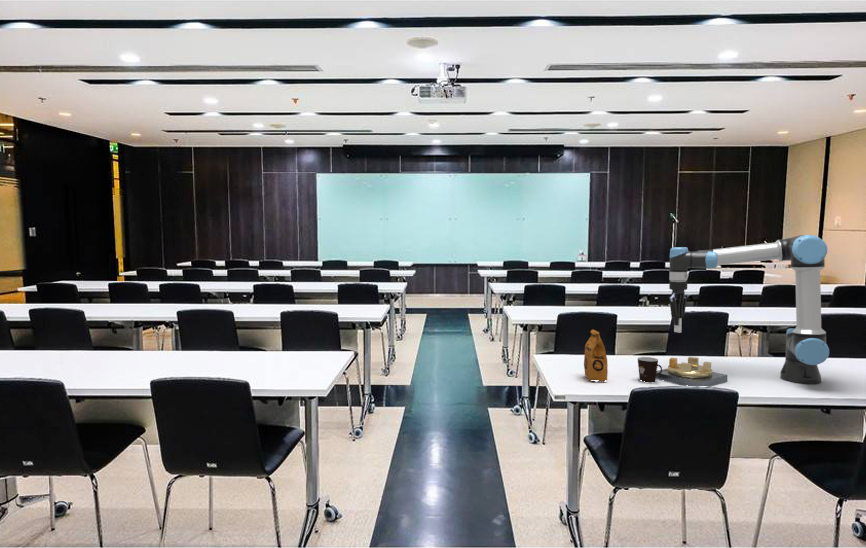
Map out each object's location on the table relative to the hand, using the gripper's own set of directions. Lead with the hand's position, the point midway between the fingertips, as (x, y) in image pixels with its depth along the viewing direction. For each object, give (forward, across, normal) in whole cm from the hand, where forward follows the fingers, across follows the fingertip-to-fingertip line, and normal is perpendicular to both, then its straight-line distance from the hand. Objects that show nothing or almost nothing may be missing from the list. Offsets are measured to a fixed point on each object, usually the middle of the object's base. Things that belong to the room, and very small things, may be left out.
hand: (677, 332), depth 247 cm
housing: (+21, -2, -7) cm, 22 cm away
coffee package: (+21, -33, +21) cm, 44 cm away
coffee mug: (+21, -19, +3) cm, 28 cm away
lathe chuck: (+18, -2, -7) cm, 19 cm away
